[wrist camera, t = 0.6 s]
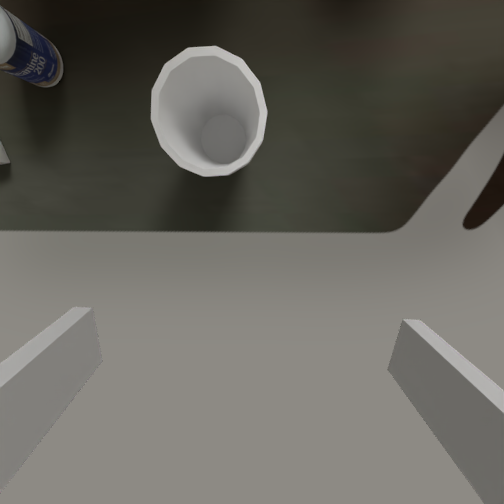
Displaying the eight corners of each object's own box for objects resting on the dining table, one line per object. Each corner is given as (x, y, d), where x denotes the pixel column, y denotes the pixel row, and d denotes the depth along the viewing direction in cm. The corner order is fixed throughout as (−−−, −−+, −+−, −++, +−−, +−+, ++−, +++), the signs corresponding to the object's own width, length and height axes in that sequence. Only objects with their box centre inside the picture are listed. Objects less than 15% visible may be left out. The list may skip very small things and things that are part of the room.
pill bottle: (39, 96, 30) (-57, 59, 20) (9, 49, 28) (-109, -15, 19) (74, 76, 29) (-7, 28, 20) (46, 26, 27) (-57, -51, 18)
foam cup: (193, 178, 33) (161, 179, 20) (183, 103, 30) (139, 50, 18) (261, 174, 33) (269, 172, 20) (257, 98, 30) (264, 42, 18)
